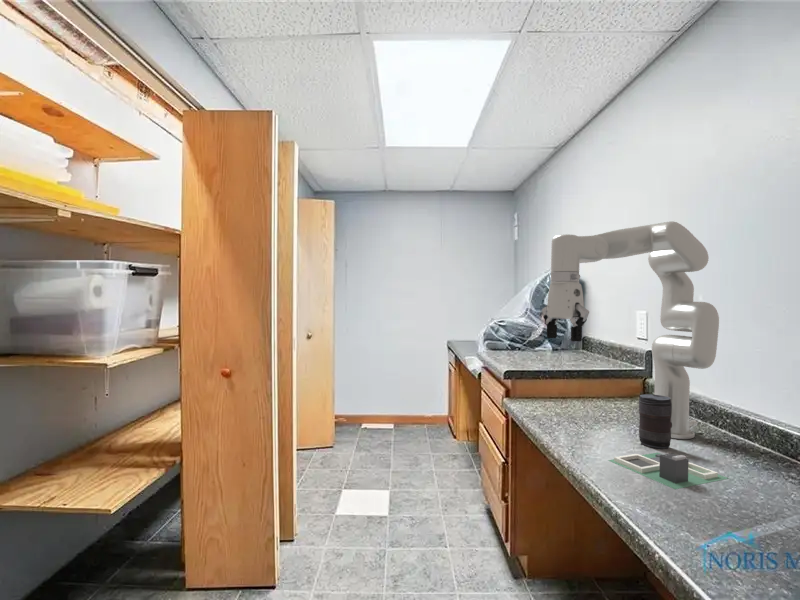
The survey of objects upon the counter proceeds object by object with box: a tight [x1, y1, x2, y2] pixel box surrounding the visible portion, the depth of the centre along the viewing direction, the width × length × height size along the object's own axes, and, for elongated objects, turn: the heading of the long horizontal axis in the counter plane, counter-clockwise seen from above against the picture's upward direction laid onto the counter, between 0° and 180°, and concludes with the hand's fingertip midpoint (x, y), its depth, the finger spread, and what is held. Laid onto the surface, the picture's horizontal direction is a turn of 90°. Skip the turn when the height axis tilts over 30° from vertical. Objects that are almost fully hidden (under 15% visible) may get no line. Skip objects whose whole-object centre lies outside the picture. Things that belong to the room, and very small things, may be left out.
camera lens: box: [638, 393, 672, 450], centre depth 124 cm, size 8×8×15 cm
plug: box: [659, 453, 689, 483], centre depth 100 cm, size 4×4×6 cm
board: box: [607, 452, 730, 490], centre depth 106 cm, size 18×18×2 cm
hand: (563, 339), depth 123 cm, fingers open, 9 cm apart
